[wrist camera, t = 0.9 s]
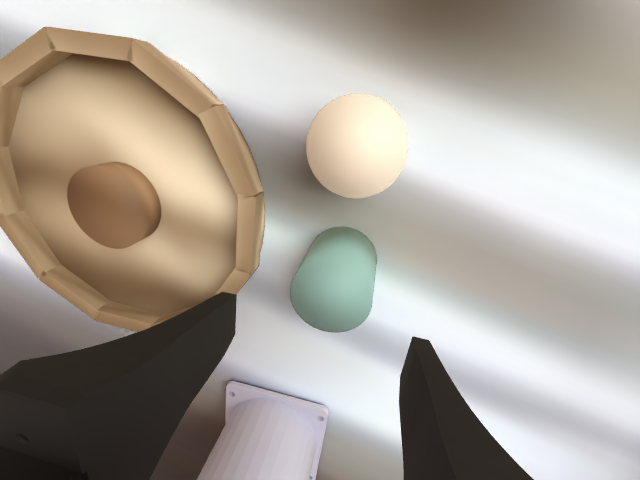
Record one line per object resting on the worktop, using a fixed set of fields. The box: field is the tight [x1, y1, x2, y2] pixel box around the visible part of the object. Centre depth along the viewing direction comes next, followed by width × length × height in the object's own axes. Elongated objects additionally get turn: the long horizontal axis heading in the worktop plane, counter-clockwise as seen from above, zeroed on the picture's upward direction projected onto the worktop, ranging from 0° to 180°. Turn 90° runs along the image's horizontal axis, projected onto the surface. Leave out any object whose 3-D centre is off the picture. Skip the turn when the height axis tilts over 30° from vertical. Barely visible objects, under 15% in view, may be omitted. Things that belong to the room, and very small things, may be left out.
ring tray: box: [0, 27, 265, 332], centre depth 20 cm, size 18×18×2 cm
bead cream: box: [306, 94, 408, 198], centre depth 15 cm, size 4×4×4 cm
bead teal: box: [290, 227, 377, 332], centre depth 18 cm, size 4×4×4 cm
